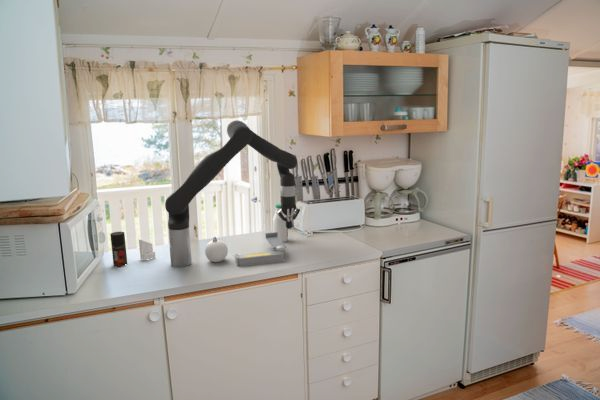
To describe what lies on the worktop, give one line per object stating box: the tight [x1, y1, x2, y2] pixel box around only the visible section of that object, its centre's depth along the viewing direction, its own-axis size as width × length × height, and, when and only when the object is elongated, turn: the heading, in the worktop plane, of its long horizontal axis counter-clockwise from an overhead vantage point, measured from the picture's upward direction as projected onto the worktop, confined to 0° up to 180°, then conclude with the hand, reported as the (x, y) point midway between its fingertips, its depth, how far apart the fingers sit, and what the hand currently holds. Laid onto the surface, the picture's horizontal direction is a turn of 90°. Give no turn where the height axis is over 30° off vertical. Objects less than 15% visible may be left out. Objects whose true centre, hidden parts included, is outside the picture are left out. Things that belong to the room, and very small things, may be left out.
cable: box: [244, 253, 271, 257], centre depth 208 cm, size 12×4×3 cm, turn 106°
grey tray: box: [232, 250, 286, 267], centre depth 213 cm, size 22×16×4 cm
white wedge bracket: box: [138, 238, 156, 261], centre depth 216 cm, size 4×10×9 cm, turn 138°
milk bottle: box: [272, 203, 289, 243], centre depth 240 cm, size 8×8×20 cm
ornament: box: [204, 236, 229, 263], centre depth 210 cm, size 10×10×12 cm
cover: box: [264, 231, 287, 251], centre depth 220 cm, size 6×22×3 cm, turn 16°
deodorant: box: [110, 231, 128, 267], centre depth 208 cm, size 6×6×15 cm
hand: (289, 228), depth 228 cm, fingers closed
